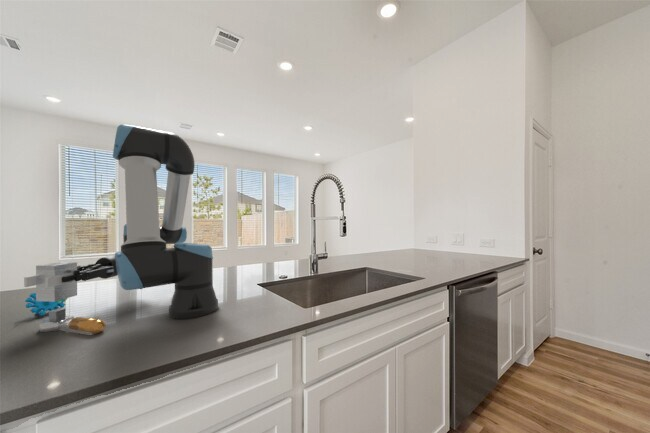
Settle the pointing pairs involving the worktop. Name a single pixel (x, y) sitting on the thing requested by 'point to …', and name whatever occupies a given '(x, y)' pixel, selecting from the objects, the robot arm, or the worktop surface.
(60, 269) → the brushed metal block
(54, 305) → the gear
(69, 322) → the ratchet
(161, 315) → the worktop surface
